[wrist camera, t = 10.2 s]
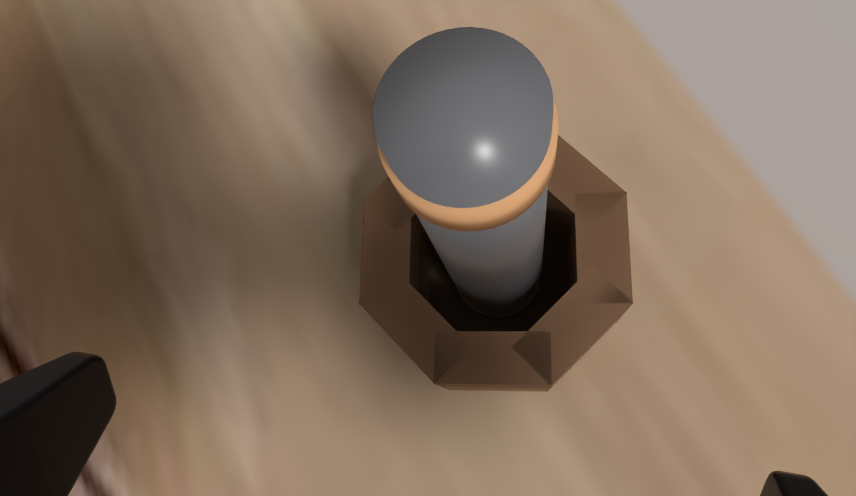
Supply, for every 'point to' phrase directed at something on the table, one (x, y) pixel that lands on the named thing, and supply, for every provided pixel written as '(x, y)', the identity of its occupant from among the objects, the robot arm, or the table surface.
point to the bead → (503, 350)
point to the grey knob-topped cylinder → (473, 158)
